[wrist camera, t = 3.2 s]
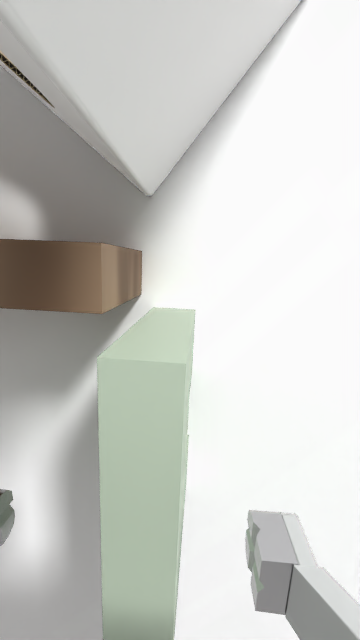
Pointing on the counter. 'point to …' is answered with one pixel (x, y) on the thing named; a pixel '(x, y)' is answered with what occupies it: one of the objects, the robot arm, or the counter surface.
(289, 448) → the counter surface
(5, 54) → the gable box
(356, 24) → the counter surface
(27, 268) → the upright
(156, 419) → the crosspiece
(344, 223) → the counter surface
